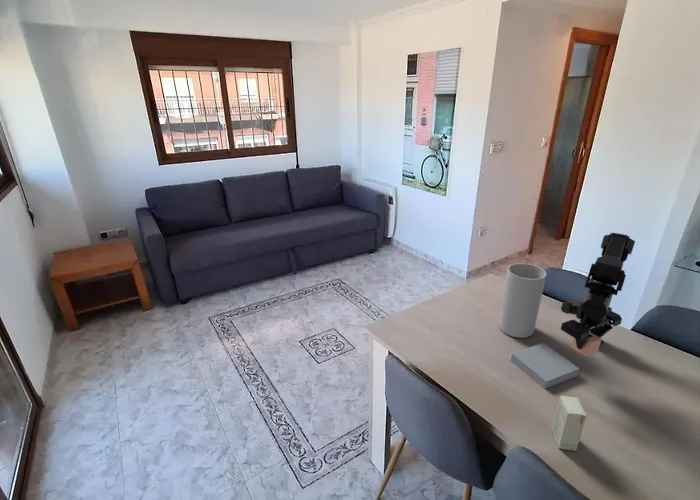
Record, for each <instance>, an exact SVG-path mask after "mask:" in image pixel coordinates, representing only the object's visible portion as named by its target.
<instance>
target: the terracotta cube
mask: <svg viewBox="0 0 700 500" xmlns="http://www.w3.org/2000/svg"><path fill="white" fill-rule="evenodd" d="M589 334H590V335H592V337H591V339H590V340H589V341H588V342H587V343H586V344H585V346H584V347H583V348H582V349H578V348H577V345H576V339H575V338H574V337H573V339H572V343H571V345H570V347H571V349H573V350H575V351H577V352H578V353H580V354H582V355H583V356H585V357H586V358H587V357H589V356H591V355H594V354H597V353H598V352H599V348H600V345H601V344H600V343H601V340H603V339H602V337H601V338H600V337H598V336H596V335H595V334H593V333H591V332H589Z"/></svg>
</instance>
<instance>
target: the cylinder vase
mask: <svg viewBox="0 0 700 500" xmlns="http://www.w3.org/2000/svg"><path fill="white" fill-rule="evenodd" d="M546 277H547V272H546V271H545V270H544V269H543V268H541V267H539V266H538V265H537V266H536V265H535V264H530V263H522V262H519V263H517V262H516V263H512V264H509V266H508V267H507V272H506V277H505V283H504V289H503V295H502V300H501V308H500V313H499V320H498V328H499V329H500V331H502V333H505V334H506V335H508V336H510V337H512V338H517V339H525V338H530V337H531V336H532V335H534V332H535V329H536V324H537V319H538V315H539V310H540V304H541V302H542V301H541V300H542V295H543V291H544V287H545V283H546Z"/></svg>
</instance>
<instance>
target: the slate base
mask: <svg viewBox="0 0 700 500" xmlns="http://www.w3.org/2000/svg"><path fill="white" fill-rule="evenodd" d="M510 357H511V358H510V362H512V364H514V365H515V366H516V367H518V368H519V369H520V370H521V371H522V372H524V374H526V375H527V376H529V377H530V378H531V379H532V380H533V381H535V383H537V384H538V385H539V386H541V388H543V389H547V388H551V387H553V386H555V385H559V384H561V383H563V382H565V381H567V380H570V379H573V378H576V377H578V374H579V372H580V368H579V366H577V365H575V364H573V363H572V362H571V361H570V360H568V359H567V358H565V357H563V356H562V355H561V354H559V352H557V351H555V349H552V348H551V347H550V346H548V345H546V343H544V342H542V343H538V344H535V345H532V346H530V347H527V348H524V349H522V350H518V351H515V352H512V353H511V356H510Z"/></svg>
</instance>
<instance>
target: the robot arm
mask: <svg viewBox="0 0 700 500" xmlns="http://www.w3.org/2000/svg"><path fill="white" fill-rule="evenodd" d="M635 243H636V241H635V240H634V239H632V238H631V237H630V235H628V234H624V233H619V232H618V233H617V232H610V233H609V234H606V235H605V234H604V235H603V238H602V241H601V244H600V249H602V251H601V256H599V257H597V258H596V260H595V262H594V263H591V266H590V268H589V271H588V272H589V273H588V275H587V278H586V280H585V284H584V287H585V288H587V289H588V292H587V294H586V295H585V298H584V300H583V301H582V300H577V299H572V300H569V301H564V302H562V303H561V306H560V309H561V312H562V313H564V314H567V315H568V314H570V315H576V317H575V318H577V319H579V321H577V320H576V319H573V318H572V319H570V320H567V321H564V322H562V323H561V326H560V330H561V331H563V332H564V333H566V334H567V335H569V336H570V337H572V338H573V339H574V338H575V339H576V345H577V348H578V349H582V348H583V347H584V346H585V344H586V343H587V342H588V341H589V340H590V339H591V337H592V335H590V334H589V332H591V333H593V334H595V335H596V336H598V337H600V338H601V339H602V337H603V336H605V335H606V334H607V333H608V332H610V330H613V328H614V327H617V326H620V325H621V323H622V320H623V318H622V317H621V316H622V315H620V314H618V313H617V312H615V311H613V308H612V307H610V305H611V302H612V299H613V295H614V296H618V293H619V292H622V289H623V287H624V283H625V281H626V280H625V279H626V277H627V275H626V274H625V270H624V269H623V267H624V263H625V262H626V261H627V259H628V256H629V255H632V252H633V249H634V246H635ZM591 280H592V281H591ZM614 286H615V287H614ZM615 288H616V289H615ZM604 343H605V341H604V340H603V339H602V340H601V343H600V345H601V344H604Z"/></svg>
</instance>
